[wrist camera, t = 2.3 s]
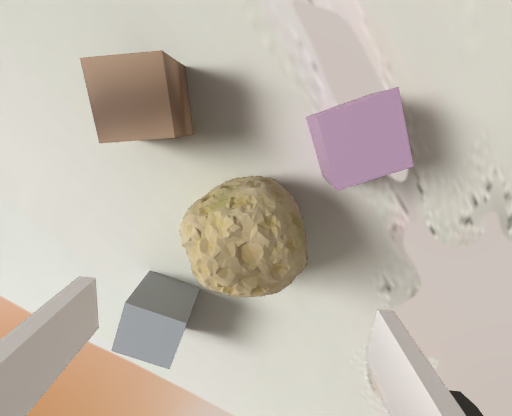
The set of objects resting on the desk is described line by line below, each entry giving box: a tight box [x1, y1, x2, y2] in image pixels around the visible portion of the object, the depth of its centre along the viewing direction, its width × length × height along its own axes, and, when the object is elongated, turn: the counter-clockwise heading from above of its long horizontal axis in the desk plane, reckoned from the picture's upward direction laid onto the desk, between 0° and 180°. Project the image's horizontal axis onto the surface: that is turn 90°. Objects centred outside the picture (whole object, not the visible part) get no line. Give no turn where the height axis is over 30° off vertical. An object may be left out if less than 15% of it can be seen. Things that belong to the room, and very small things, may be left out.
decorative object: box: [180, 176, 308, 297], centre depth 22 cm, size 9×10×10 cm
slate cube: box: [112, 271, 200, 369], centre depth 25 cm, size 5×5×5 cm
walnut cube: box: [80, 51, 193, 143], centre depth 20 cm, size 5×5×5 cm
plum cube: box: [306, 87, 413, 191], centre depth 20 cm, size 5×5×5 cm
